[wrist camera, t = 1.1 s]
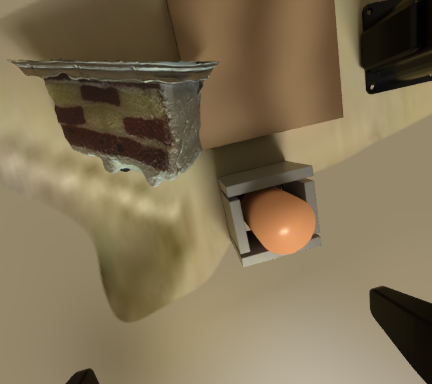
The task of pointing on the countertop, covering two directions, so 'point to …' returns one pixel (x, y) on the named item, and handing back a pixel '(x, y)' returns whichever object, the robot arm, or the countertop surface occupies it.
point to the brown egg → (278, 219)
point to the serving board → (260, 64)
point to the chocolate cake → (129, 111)
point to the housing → (255, 180)
